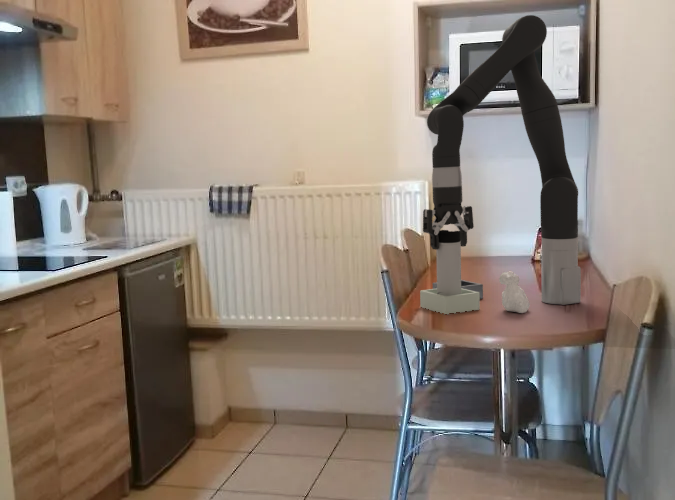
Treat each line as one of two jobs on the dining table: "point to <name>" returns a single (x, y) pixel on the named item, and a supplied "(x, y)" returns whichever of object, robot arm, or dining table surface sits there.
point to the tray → (450, 301)
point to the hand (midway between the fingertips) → (449, 247)
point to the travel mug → (449, 263)
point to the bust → (513, 293)
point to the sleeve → (468, 287)
